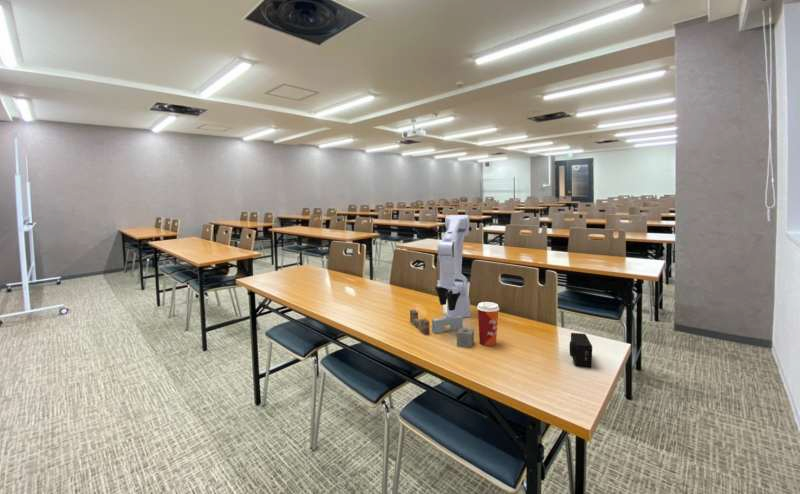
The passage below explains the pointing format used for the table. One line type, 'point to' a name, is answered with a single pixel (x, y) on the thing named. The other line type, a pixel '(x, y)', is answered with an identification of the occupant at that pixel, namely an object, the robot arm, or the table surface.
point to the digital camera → (581, 350)
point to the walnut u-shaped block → (419, 322)
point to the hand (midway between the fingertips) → (447, 307)
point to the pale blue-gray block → (453, 321)
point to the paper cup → (487, 322)
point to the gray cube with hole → (465, 337)
